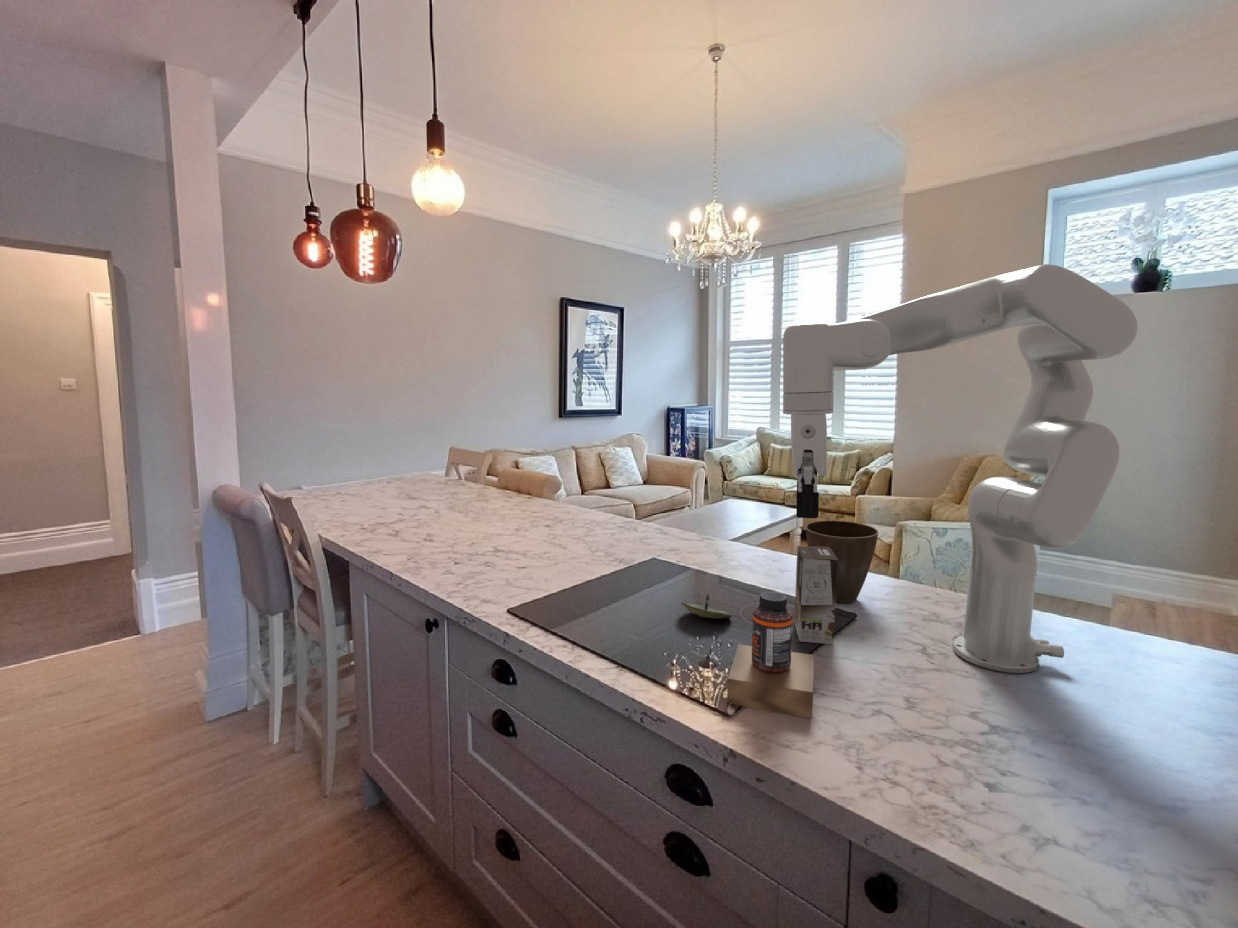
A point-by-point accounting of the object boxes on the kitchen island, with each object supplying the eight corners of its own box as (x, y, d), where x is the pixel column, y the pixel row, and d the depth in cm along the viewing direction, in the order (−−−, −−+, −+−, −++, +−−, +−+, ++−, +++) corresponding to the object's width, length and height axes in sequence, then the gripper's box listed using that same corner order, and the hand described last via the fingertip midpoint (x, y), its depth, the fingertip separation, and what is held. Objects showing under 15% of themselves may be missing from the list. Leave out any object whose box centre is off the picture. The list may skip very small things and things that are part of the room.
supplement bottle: (746, 657, 92) (747, 589, 90) (782, 655, 92) (784, 587, 91) (758, 675, 86) (761, 602, 84) (797, 673, 86) (800, 601, 85)
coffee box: (835, 645, 105) (839, 560, 102) (798, 642, 106) (801, 557, 104) (827, 624, 113) (831, 546, 111) (793, 622, 115) (796, 544, 113)
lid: (671, 620, 116) (671, 596, 115) (696, 605, 124) (696, 583, 123) (717, 634, 110) (717, 609, 109) (740, 617, 117) (741, 594, 117)
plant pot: (853, 616, 117) (857, 541, 115) (789, 597, 128) (792, 527, 126) (886, 599, 127) (890, 529, 125) (824, 582, 138) (827, 517, 136)
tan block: (812, 678, 93) (813, 654, 92) (811, 718, 82) (812, 692, 81) (737, 666, 97) (738, 644, 96) (727, 703, 85) (727, 678, 85)
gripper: (836, 406, 80) (834, 524, 83) (830, 401, 97) (829, 500, 99) (781, 407, 83) (781, 522, 85) (784, 402, 99) (784, 499, 101)
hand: (807, 510), depth 92 cm, fingers open, 9 cm apart
